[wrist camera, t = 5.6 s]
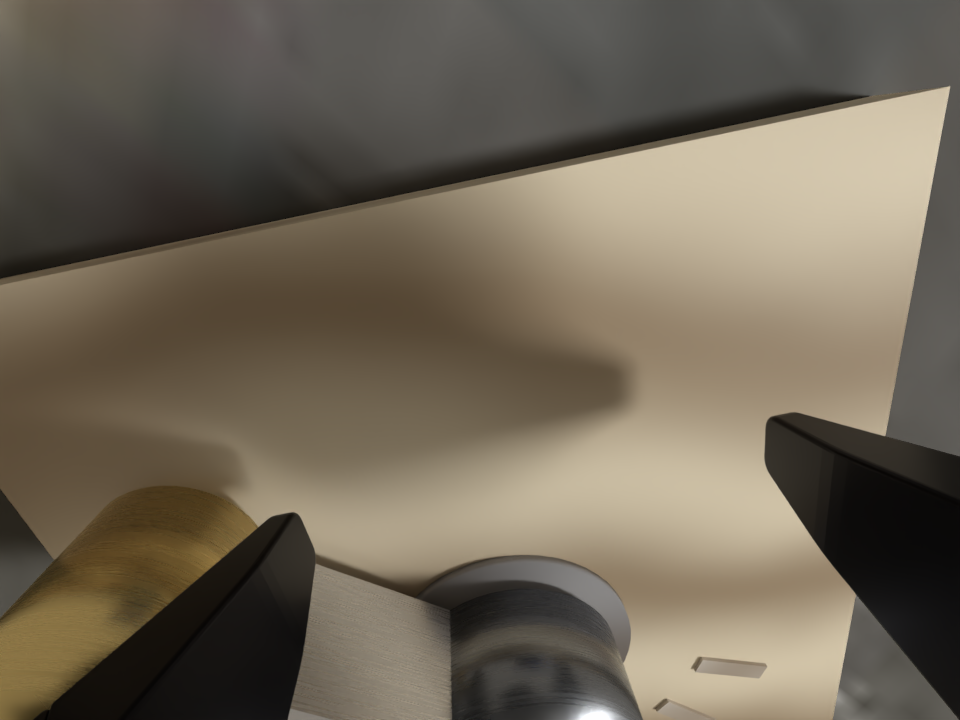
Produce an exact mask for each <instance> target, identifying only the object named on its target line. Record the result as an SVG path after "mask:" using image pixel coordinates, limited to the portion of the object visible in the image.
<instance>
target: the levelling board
mask: <svg viewBox="0 0 960 720" xmlns="http://www.w3.org/2000/svg"><path fill="white" fill-rule="evenodd" d="M949 90H950V86H949V87H941V88H932V89H924V90H916V91H908V92H900V93H892V94H884V95H876V96H870V97H865V98H861V99H856V100H851V101H846V102H841V103H837V104H832V105H827V106H822V107H818V108H813V109H808V110H803V111H799V112H794V113H789V114H784V115H779V116H775V117H770V118H765V119H760V120H756V121H751V122H746V123H741V124H736V125H732V126H727V127H722V128H717V129H713V130H708V131H703V132H698V133H693V134H689V135H684V136H679V137H674V138H670V139H665V140H660V141H655V142H651V143H646V144H641V145H636V146H631V147H627V148H622V149H617V150H612V151H608V152H603V153H598V154H593V155H588V156H584V157H579V158H574V159H569V160H565V161H560V162H555V163H550V164H545V165H541V166H536V167H531V168H526V169H522V170H517V171H512V172H507V173H502V174H498V175H493V176H488V177H483V178H479V179H474V180H469V181H464V182H460V183H455V184H450V185H445V186H440V187H436V188H431V189H426V190H421V191H417V192H412V193H407V194H402V195H397V196H393V197H388V198H383V199H378V200H374V201H369V202H364V203H359V204H354V205H350V206H345V207H340V208H335V209H331V210H326V211H321V212H316V213H312V214H307V215H302V216H297V217H292V218H288V219H283V220H278V221H273V222H269V223H264V224H259V225H254V226H249V227H245V228H240V229H235V230H230V231H226V232H221V233H216V234H211V235H206V236H202V237H197V238H192V239H187V240H183V241H178V242H173V243H168V244H164V245H159V246H154V247H149V248H144V249H140V250H135V251H130V252H125V253H121V254H116V255H111V256H106V257H101V258H97V259H92V260H87V261H82V262H78V263H73V264H68V265H63V266H58V267H54V268H49V269H44V270H39V271H35V272H30V273H25V274H20V275H16V276H11V277H6V278H1V279H0V489H1V490H2V492H3V493H4V494H5V496H6V497H7V498H8V500H9V501H10V502H11V504H12V505H13V506H14V508H15V509H16V510H17V512H18V513H19V514H20V515H21V517H22V518H23V519H24V521H25V522H26V523H27V525H28V526H29V527H30V529H31V530H32V531H33V533H34V534H35V535H36V537H37V538H38V539H39V541H40V542H41V543H42V545H43V546H44V547H45V549H46V550H47V551H48V553H49V554H50V555H51V557H52V558H53V559H54V560H55V559H56V558H57V557H58V556H59V555H60V554H61V553H62V552H63V551H64V550H65V549H66V548H67V546H68V545H69V544H70V543H71V542H72V541H73V540H74V539H75V538H76V537H77V536H78V535H79V534H80V533H81V532H82V531H83V529H84V528H85V527H86V526H87V525H88V524H89V523H90V522H91V521H92V520H93V519H94V518H95V517H96V516H97V515H98V513H99V512H100V511H101V510H102V509H103V508H104V507H105V506H107V505H108V504H109V503H110V502H111V501H113V500H114V499H116V498H117V497H119V496H121V495H123V494H125V493H128V492H131V491H134V490H137V489H141V488H146V487H152V486H180V487H188V488H193V489H198V490H201V491H205V492H208V493H211V494H213V495H216V496H218V497H220V498H223V499H225V500H226V501H228V502H230V503H232V504H234V505H235V506H236V507H238V508H239V509H241V510H242V511H243V512H245V513H246V514H247V515H248V516H249V517H250V518H251V519H252V520H253V521H254V522H255V523H256V524H257V525H258V527H259V526H260V525H261V524H263V523H264V522H265V521H266V520H267V519H269V518H270V517H272V516H275V515H280V514H285V513H290V512H295V513H297V514H298V515H299V516H300V517H301V519H302V521H303V523H304V526H305V528H306V530H307V533H308V535H309V537H310V540H311V542H312V544H313V547H314V550H315V555H316V564H318V565H321V566H324V567H326V568H329V569H332V570H335V571H338V572H341V573H344V574H347V575H349V576H352V577H355V578H358V579H361V580H364V581H367V582H370V583H372V584H375V585H378V586H381V587H384V588H387V589H390V590H393V591H396V592H398V593H401V594H404V595H407V596H410V597H413V598H416V599H419V600H421V601H424V602H427V603H430V604H433V605H436V606H439V607H442V608H444V609H447V610H451V609H453V608H455V607H457V606H458V605H460V604H462V603H464V602H467V601H469V600H471V599H474V598H476V597H479V596H483V595H486V594H489V593H494V592H499V591H504V590H513V589H542V590H550V591H555V592H560V593H563V594H566V595H570V596H573V597H575V598H577V599H579V600H581V601H583V602H585V603H587V604H588V605H590V606H591V607H593V608H594V609H595V610H596V611H597V612H599V613H600V614H601V615H602V617H603V618H604V619H605V620H606V621H607V623H608V625H609V627H610V629H611V631H612V633H613V636H614V639H615V642H616V645H617V647H618V650H619V653H620V656H621V659H622V662H623V664H624V667H625V670H626V673H627V676H628V678H629V681H630V684H631V687H632V690H633V693H634V695H635V698H636V701H637V704H638V707H639V710H640V712H641V715H642V718H643V720H833V714H834V709H835V704H836V698H837V693H838V687H839V682H840V677H841V671H842V666H843V661H844V655H845V650H846V644H847V639H848V634H849V628H850V623H851V617H852V612H853V607H854V601H855V596H856V594H855V593H854V591H853V590H852V589H851V588H850V586H849V585H848V584H847V583H846V582H845V580H844V579H843V578H842V577H841V575H840V574H839V573H838V572H837V571H836V569H835V568H834V567H833V566H832V564H831V563H830V562H829V561H828V559H827V558H826V557H825V555H824V554H823V553H822V551H821V550H820V549H819V547H818V546H817V544H816V543H815V542H814V540H813V539H812V537H811V536H810V534H809V533H808V531H807V530H806V528H805V527H804V525H803V524H802V522H801V521H800V519H799V518H798V516H797V515H796V513H795V512H794V510H793V509H792V507H791V506H790V504H789V503H788V501H787V500H786V498H785V497H784V495H783V494H782V492H781V491H780V489H779V488H778V486H777V485H776V483H775V482H774V480H773V479H772V477H771V476H770V474H769V473H768V471H767V468H766V465H765V461H764V450H765V427H766V422H767V420H768V419H769V418H770V417H771V416H775V415H780V414H785V413H790V412H798V413H802V414H805V415H809V416H813V417H816V418H820V419H824V420H827V421H831V422H835V423H838V424H842V425H846V426H849V427H853V428H857V429H860V430H864V431H868V432H871V433H875V434H879V435H882V436H885V434H886V429H887V424H888V418H889V413H890V407H891V402H892V397H893V391H894V386H895V381H896V375H897V370H898V364H899V359H900V354H901V348H902V343H903V337H904V332H905V327H906V321H907V316H908V310H909V305H910V300H911V294H912V289H913V284H914V278H915V273H916V267H917V262H918V257H919V251H920V246H921V240H922V235H923V230H924V224H925V219H926V214H927V208H928V203H929V197H930V192H931V187H932V181H933V176H934V170H935V165H936V160H937V154H938V149H939V144H940V138H941V133H942V127H943V122H944V117H945V111H946V106H947V100H948V95H949Z"/></svg>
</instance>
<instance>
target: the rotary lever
mask: <svg viewBox="0 0 960 720" xmlns="http://www.w3.org/2000/svg"><path fill="white" fill-rule="evenodd" d="M257 528H258V525H257V524H256V523H255V522H254V521H253V520H252V519H251V518H250V517H249V516H248V515H247V514H246V513H245V512H243V511H242V510H241V509H239V508H238V507H236V506H235V505H234V504H232V503H230V502H228V501H226V500H225V499H223V498H220V497H218V496H216V495H213V494H211V493H208V492H205V491H201V490H198V489H193V488H188V487H180V486H152V487H146V488H141V489H137V490H134V491H131V492H128V493H125V494H123V495H121V496H119V497H117V498H116V499H114V500H113V501H111V502H110V503H109V504H108V505H107V506H105V507H104V508H103V509H102V510H101V511H100V512H99V513H98V515H97V516H96V517H95V518H94V519H93V520H92V521H91V522H90V523H89V524H88V525H87V526H86V527H85V528H84V529H83V531H82V532H81V533H80V534H79V535H78V536H77V537H76V538H75V539H74V540H73V541H72V542H71V543H70V544H69V545H68V546H67V548H66V549H65V550H64V551H63V552H62V553H61V554H60V555H59V556H58V557H57V558H56V559H55V560H54V561H53V562H52V564H51V565H50V566H49V567H48V568H47V569H46V570H45V571H44V572H43V573H42V574H41V575H40V576H39V577H38V578H37V579H36V581H35V582H34V583H33V584H32V585H31V586H30V587H29V588H28V589H27V590H26V591H25V592H24V593H23V594H22V595H21V596H20V598H19V599H18V600H17V601H16V602H15V603H14V604H13V605H12V606H11V607H10V608H9V609H8V610H7V611H6V612H5V614H4V615H3V616H2V617H1V618H0V720H33V719H34V718H35V717H36V716H38V715H39V714H40V713H41V712H42V711H44V710H46V709H49V710H50V707H51V704H52V703H53V702H54V701H55V700H57V699H58V698H59V697H60V696H61V695H62V694H64V693H65V692H66V691H67V690H68V689H70V688H71V687H72V686H73V685H74V684H75V683H77V682H78V681H79V680H80V679H81V678H82V677H84V676H85V675H86V674H87V673H88V672H89V671H91V670H92V669H93V668H94V667H95V666H96V665H98V664H99V663H100V662H101V661H102V660H103V659H105V658H106V657H107V656H108V655H109V654H110V653H112V652H113V651H114V650H115V649H116V648H117V647H119V646H120V645H121V644H122V643H123V642H125V641H126V640H127V639H128V638H129V637H130V636H132V635H133V634H134V633H135V632H136V631H137V630H139V629H140V628H141V627H142V626H143V625H144V624H146V623H147V622H148V621H149V620H150V619H151V618H153V617H154V616H155V615H156V614H157V613H158V612H160V611H161V610H162V609H163V608H164V607H165V606H167V605H168V604H169V603H170V602H171V601H173V600H174V599H175V598H176V597H177V596H178V595H180V594H181V593H182V592H183V591H184V590H185V589H187V588H188V587H189V586H190V585H191V584H192V583H194V582H195V581H196V580H197V579H198V578H199V577H201V576H202V575H203V574H204V573H205V572H206V571H208V570H209V569H210V568H211V567H212V566H213V565H215V564H216V563H217V562H218V561H219V560H221V559H222V558H223V557H224V556H225V555H226V554H228V553H229V552H230V551H231V550H232V549H233V548H235V547H236V546H237V545H238V544H239V543H240V542H242V541H243V540H244V539H245V538H246V537H247V536H249V535H250V534H251V533H252V532H253V531H254V530H256V529H257ZM288 720H643V718H642V715H641V712H640V710H639V707H638V704H637V701H636V698H635V695H634V693H633V690H632V687H631V684H630V681H629V678H628V676H627V673H626V670H625V667H624V664H623V662H622V659H621V656H620V653H619V650H618V647H617V645H616V642H615V639H614V636H613V633H612V631H611V629H610V627H609V625H608V623H607V621H606V620H605V619H604V618H603V617H602V615H601V614H600V613H599V612H597V611H596V610H595V609H594V608H593V607H591V606H590V605H588V604H587V603H585V602H583V601H581V600H579V599H577V598H575V597H573V596H570V595H566V594H563V593H560V592H555V591H550V590H542V589H513V590H504V591H499V592H494V593H489V594H486V595H483V596H479V597H476V598H474V599H471V600H469V601H467V602H464V603H462V604H460V605H458V606H457V607H455V608H453V609H451V610H447V609H444V608H442V607H439V606H436V605H433V604H430V603H427V602H424V601H421V600H419V599H416V598H413V597H410V596H407V595H404V594H401V593H398V592H396V591H393V590H390V589H387V588H384V587H381V586H378V585H375V584H372V583H370V582H367V581H364V580H361V579H358V578H355V577H352V576H349V575H347V574H344V573H341V572H338V571H335V570H332V569H329V568H326V567H324V566H321V565H318V564H315V572H314V579H313V587H312V594H311V602H310V609H309V617H308V624H307V632H306V639H305V645H304V652H303V657H302V662H301V666H300V671H299V675H298V679H297V683H296V687H295V692H294V696H293V700H292V704H291V708H290V712H289V717H288Z"/></svg>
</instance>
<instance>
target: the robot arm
mask: <svg viewBox="0 0 960 720" xmlns="http://www.w3.org/2000/svg"><path fill="white" fill-rule="evenodd" d="M764 461H765V465H766V468H767V471H768V473H769V474H770V476H771V477H772V479H773V480H774V482H775V483H776V485H777V486H778V488H779V489H780V491H781V492H782V494H783V495H784V497H785V498H786V500H787V501H788V503H789V504H790V506H791V507H792V509H793V510H794V512H795V513H796V515H797V516H798V518H799V519H800V521H801V522H802V524H803V525H804V527H805V528H806V530H807V531H808V533H809V534H810V536H811V537H812V539H813V540H814V542H815V543H816V544H817V546H818V547H819V549H820V550H821V551H822V553H823V554H824V555H825V557H826V558H827V559H828V561H829V562H830V563H831V564H832V566H833V567H834V568H835V569H836V571H837V572H838V573H839V574H840V575H841V577H842V578H843V579H844V580H845V582H846V583H847V584H848V585H849V586H850V588H851V589H852V590H853V591H854V593H855V594H856V595H857V596H858V597H859V599H860V600H861V601H862V602H863V603H864V605H865V606H866V607H867V608H868V610H869V611H870V612H871V613H872V614H873V616H874V617H875V618H876V619H877V620H878V622H879V623H880V624H881V625H882V627H883V628H884V629H885V630H886V631H887V633H888V634H889V635H890V636H891V638H892V639H893V640H894V641H895V642H896V644H897V645H898V646H899V647H900V648H901V650H902V651H903V652H904V653H905V655H906V656H907V657H908V658H909V659H910V661H911V662H912V663H913V664H914V665H915V667H916V668H917V669H918V670H919V672H920V673H921V674H922V675H923V676H924V678H925V679H926V680H927V681H928V683H929V684H930V685H931V686H932V687H933V689H934V690H935V691H936V692H937V693H938V695H939V696H940V697H941V698H942V700H943V701H944V702H945V703H946V704H947V706H948V707H949V708H950V709H951V710H952V712H953V713H954V714H955V715H956V717H957V718H958V719H959V720H960V456H956V455H952V454H949V453H945V452H941V451H937V450H934V449H930V448H926V447H923V446H919V445H915V444H912V443H908V442H904V441H901V440H897V439H893V438H890V437H886V436H882V435H879V434H875V433H871V432H868V431H864V430H860V429H857V428H853V427H849V426H846V425H842V424H838V423H835V422H831V421H827V420H824V419H820V418H816V417H813V416H809V415H805V414H802V413H798V412H790V413H785V414H780V415H775V416H771V417H770V418H769V419H768V420H767V422H766V427H765V450H764ZM315 564H316V555H315V550H314V547H313V544H312V542H311V540H310V537H309V535H308V533H307V530H306V528H305V526H304V523H303V521H302V519H301V517H300V516H299V515H298V514H297V513H295V512H290V513H285V514H280V515H275V516H272V517H270V518H269V519H267V520H266V521H265V522H264V523H263V524H261V525H260V526H259V527H258V528H257V529H256V530H254V531H253V532H252V533H251V534H250V535H249V536H247V537H246V538H245V539H244V540H243V541H242V542H240V543H239V544H238V545H237V546H236V547H235V548H233V549H232V550H231V551H230V552H229V553H228V554H226V555H225V556H224V557H223V558H222V559H221V560H219V561H218V562H217V563H216V564H215V565H213V566H212V567H211V568H210V569H209V570H208V571H206V572H205V573H204V574H203V575H202V576H201V577H199V578H198V579H197V580H196V581H195V582H194V583H192V584H191V585H190V586H189V587H188V588H187V589H185V590H184V591H183V592H182V593H181V594H180V595H178V596H177V597H176V598H175V599H174V600H173V601H171V602H170V603H169V604H168V605H167V606H165V607H164V608H163V609H162V610H161V611H160V612H158V613H157V614H156V615H155V616H154V617H153V618H151V619H150V620H149V621H148V622H147V623H146V624H144V625H143V626H142V627H141V628H140V629H139V630H137V631H136V632H135V633H134V634H133V635H132V636H130V637H129V638H128V639H127V640H126V641H125V642H123V643H122V644H121V645H120V646H119V647H117V648H116V649H115V650H114V651H113V652H112V653H110V654H109V655H108V656H107V657H106V658H105V659H103V660H102V661H101V662H100V663H99V664H98V665H96V666H95V667H94V668H93V669H92V670H91V671H89V672H88V673H87V674H86V675H85V676H84V677H82V678H81V679H80V680H79V681H78V682H77V683H75V684H74V685H73V686H72V687H71V688H70V689H68V690H67V691H66V692H65V693H64V694H62V695H61V696H60V697H59V698H58V699H57V700H55V701H54V702H53V703H52V704H51V707H50V710H49V709H46V710H44V711H42V712H41V713H40V714H39V715H38V716H36V717H35V718H34V719H33V720H288V717H289V712H290V708H291V704H292V700H293V696H294V692H295V687H296V683H297V679H298V675H299V671H300V666H301V662H302V657H303V652H304V645H305V639H306V632H307V624H308V617H309V609H310V602H311V594H312V587H313V579H314V572H315Z"/></svg>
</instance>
